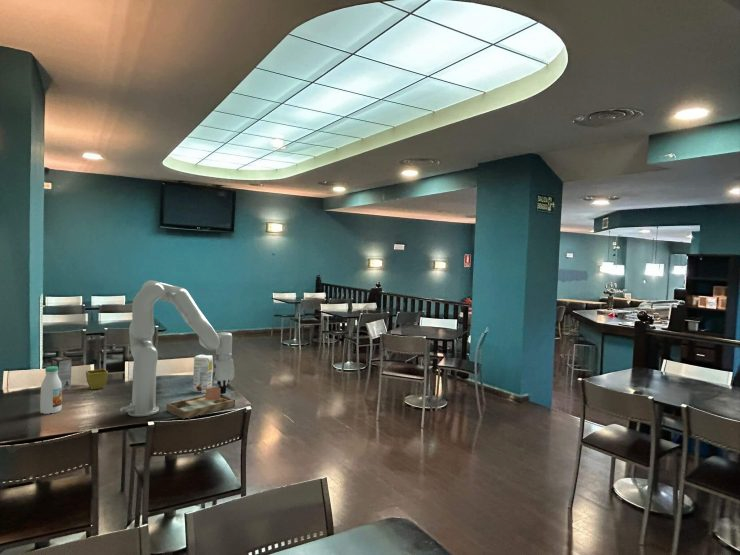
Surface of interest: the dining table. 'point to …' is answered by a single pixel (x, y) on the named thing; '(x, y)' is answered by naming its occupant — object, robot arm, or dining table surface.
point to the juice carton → (202, 373)
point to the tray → (199, 406)
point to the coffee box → (63, 370)
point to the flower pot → (96, 378)
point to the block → (213, 393)
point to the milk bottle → (51, 392)
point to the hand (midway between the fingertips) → (222, 393)
